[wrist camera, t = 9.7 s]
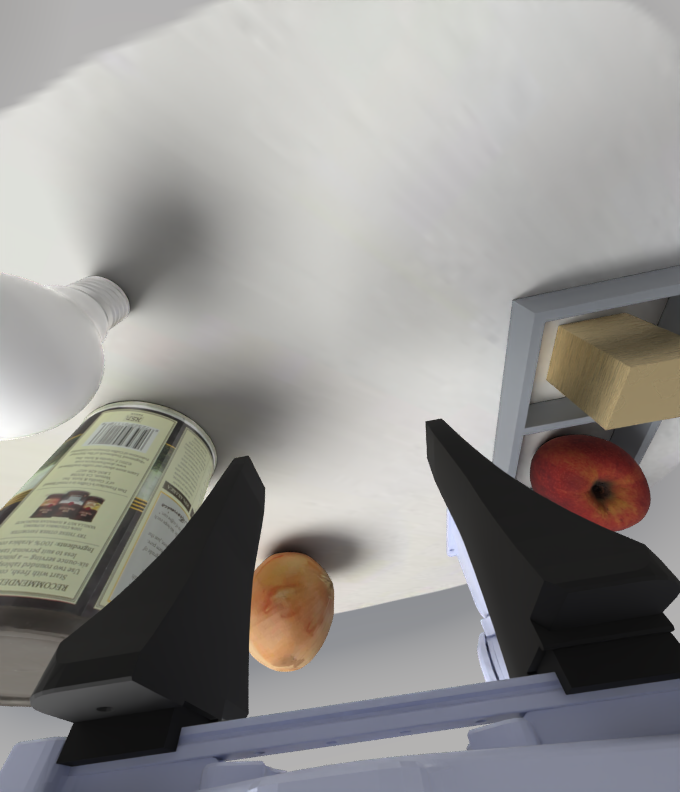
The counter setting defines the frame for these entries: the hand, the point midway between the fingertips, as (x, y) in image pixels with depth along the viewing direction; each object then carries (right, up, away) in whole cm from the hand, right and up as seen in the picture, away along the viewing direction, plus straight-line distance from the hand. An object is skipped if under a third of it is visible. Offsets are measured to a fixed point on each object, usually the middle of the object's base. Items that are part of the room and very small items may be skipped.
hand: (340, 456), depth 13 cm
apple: (+20, -2, +16) cm, 25 cm away
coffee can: (-15, -2, +13) cm, 20 cm away
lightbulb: (-14, +8, +6) cm, 17 cm away
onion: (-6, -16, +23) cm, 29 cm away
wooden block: (+18, +6, +10) cm, 21 cm away
